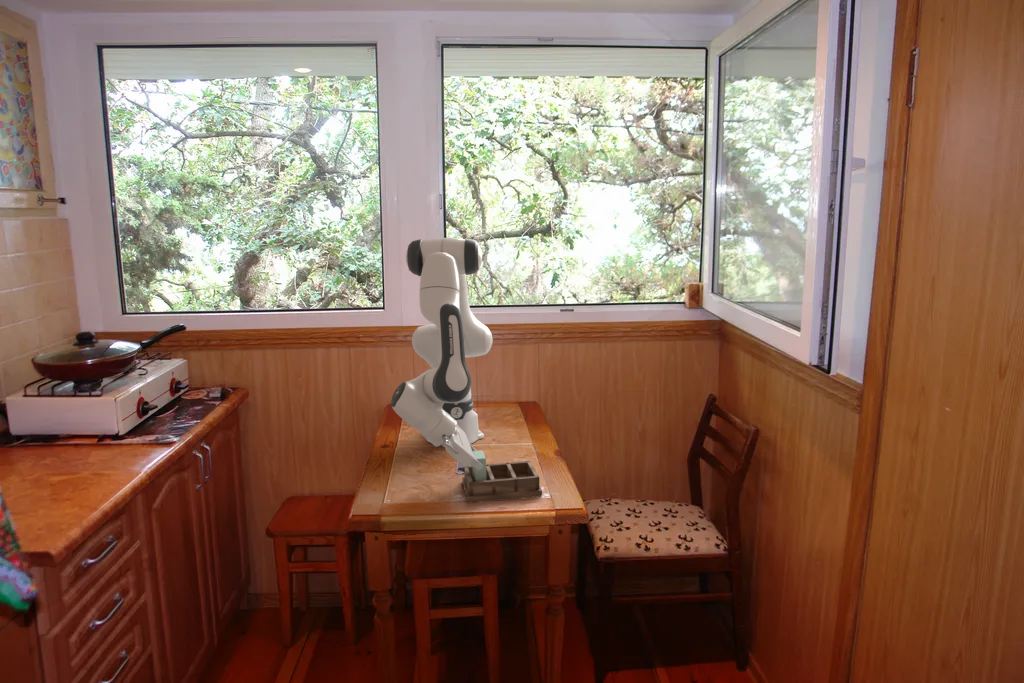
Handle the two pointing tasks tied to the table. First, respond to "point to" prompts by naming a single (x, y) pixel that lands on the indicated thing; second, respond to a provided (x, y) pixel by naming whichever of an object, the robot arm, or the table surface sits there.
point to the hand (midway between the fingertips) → (478, 461)
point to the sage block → (481, 474)
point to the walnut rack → (503, 482)
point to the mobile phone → (460, 468)
